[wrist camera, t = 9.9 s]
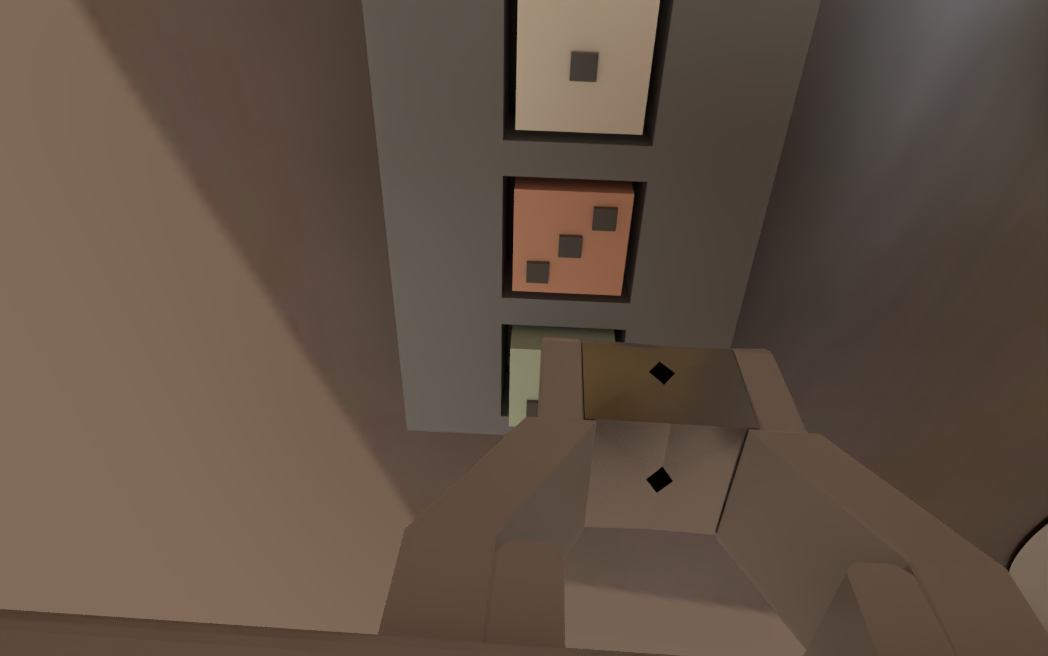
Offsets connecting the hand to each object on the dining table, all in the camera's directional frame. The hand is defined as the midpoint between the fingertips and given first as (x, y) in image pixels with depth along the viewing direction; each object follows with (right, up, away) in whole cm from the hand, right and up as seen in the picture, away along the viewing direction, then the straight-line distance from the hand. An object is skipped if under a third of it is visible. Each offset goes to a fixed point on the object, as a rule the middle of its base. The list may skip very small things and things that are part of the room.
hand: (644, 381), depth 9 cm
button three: (0, +5, +16) cm, 17 cm away
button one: (0, +10, +12) cm, 16 cm away
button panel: (0, +5, +16) cm, 17 cm away
